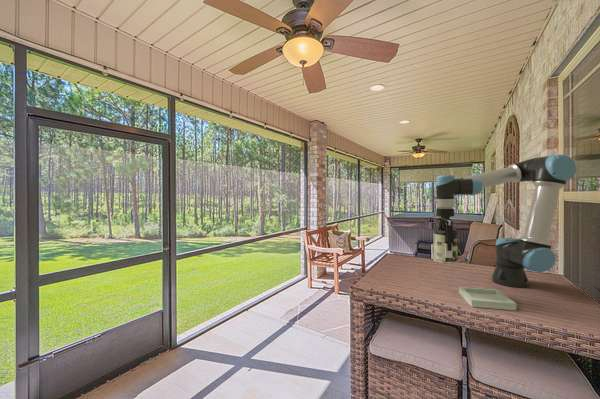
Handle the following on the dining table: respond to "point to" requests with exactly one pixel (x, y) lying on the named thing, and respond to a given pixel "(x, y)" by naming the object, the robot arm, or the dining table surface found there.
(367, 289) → the dining table surface
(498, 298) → the base plate
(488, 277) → the dining table surface
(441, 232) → the coffee can
